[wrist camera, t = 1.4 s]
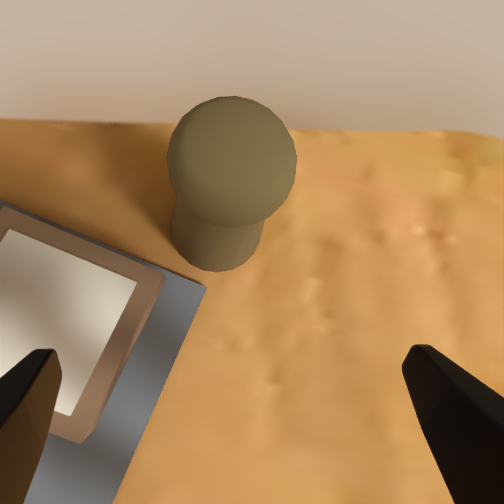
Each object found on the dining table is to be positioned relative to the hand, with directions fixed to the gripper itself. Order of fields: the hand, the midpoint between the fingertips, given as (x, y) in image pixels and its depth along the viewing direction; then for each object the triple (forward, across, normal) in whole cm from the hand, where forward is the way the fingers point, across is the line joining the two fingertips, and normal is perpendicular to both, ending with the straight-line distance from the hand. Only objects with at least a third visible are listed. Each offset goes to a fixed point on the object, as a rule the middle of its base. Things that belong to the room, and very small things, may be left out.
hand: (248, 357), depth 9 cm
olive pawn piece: (+14, 0, +4) cm, 15 cm away
